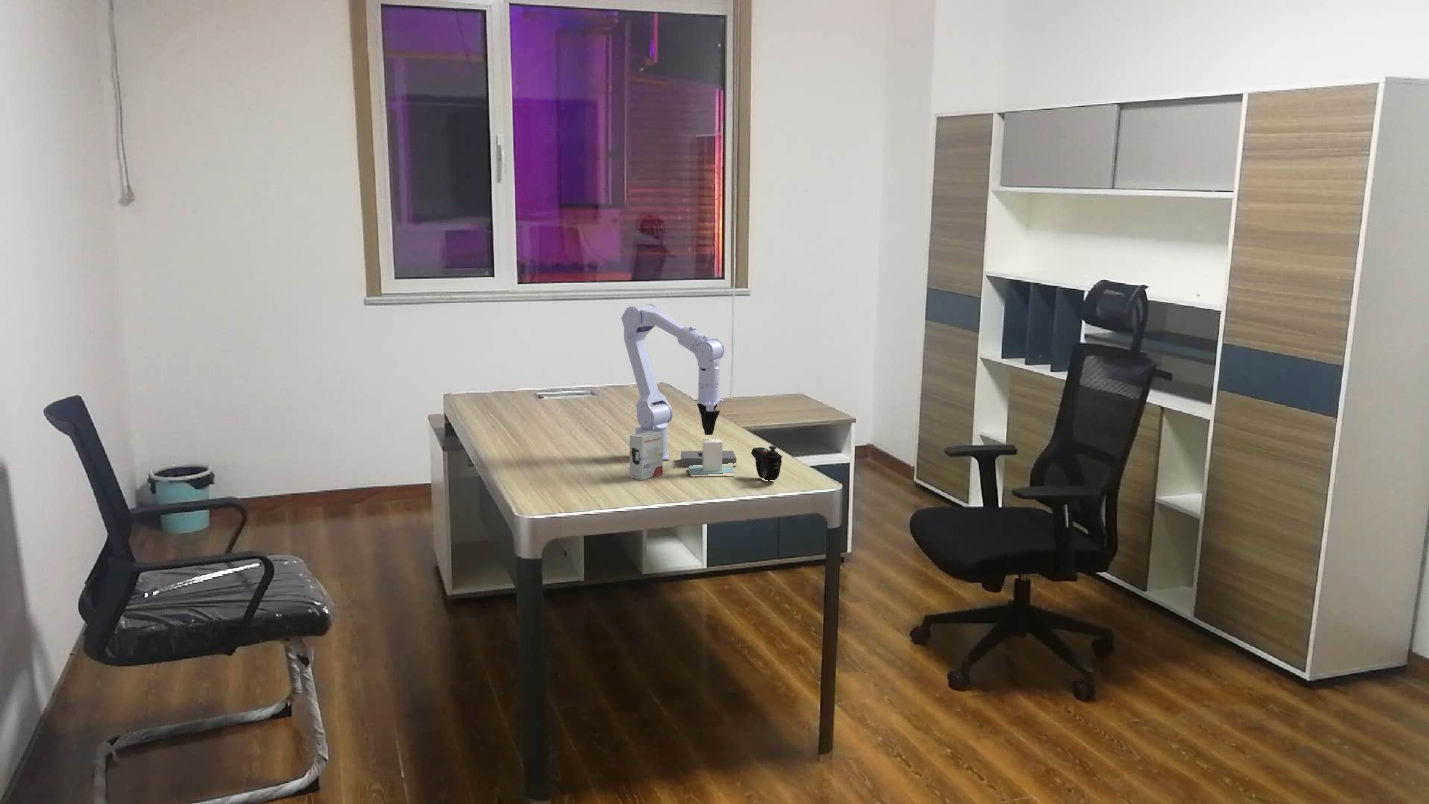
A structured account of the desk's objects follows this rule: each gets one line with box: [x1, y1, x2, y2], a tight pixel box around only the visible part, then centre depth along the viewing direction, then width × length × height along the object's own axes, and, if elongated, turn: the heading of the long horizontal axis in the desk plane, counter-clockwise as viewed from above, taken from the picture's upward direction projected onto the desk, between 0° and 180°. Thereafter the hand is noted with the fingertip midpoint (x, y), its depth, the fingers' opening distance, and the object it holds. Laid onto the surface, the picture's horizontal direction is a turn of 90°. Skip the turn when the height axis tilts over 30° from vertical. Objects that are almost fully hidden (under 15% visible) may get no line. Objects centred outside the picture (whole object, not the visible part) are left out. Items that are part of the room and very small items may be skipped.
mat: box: [688, 466, 736, 475], centre depth 300 cm, size 12×8×1 cm, turn 95°
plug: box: [702, 438, 724, 471], centre depth 300 cm, size 5×4×8 cm
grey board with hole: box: [680, 450, 737, 467], centre depth 311 cm, size 15×9×2 cm, turn 95°
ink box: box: [629, 431, 664, 481], centre depth 295 cm, size 9×5×12 cm, turn 141°
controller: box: [750, 445, 783, 482], centre depth 293 cm, size 4×12×10 cm, turn 24°
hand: (707, 431), depth 304 cm, fingers open, 7 cm apart
